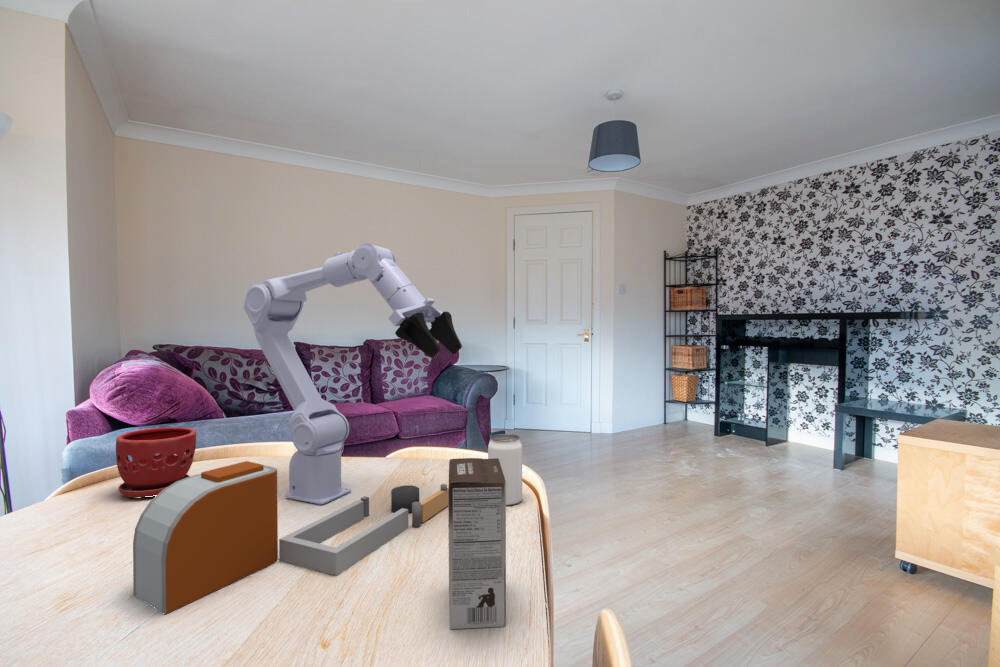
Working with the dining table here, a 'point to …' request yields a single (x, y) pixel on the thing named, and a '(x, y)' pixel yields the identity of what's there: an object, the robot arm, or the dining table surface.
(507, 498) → the can
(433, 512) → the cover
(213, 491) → the grey and orange block
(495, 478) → the coffee box
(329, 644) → the dining table surface
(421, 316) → the robot arm
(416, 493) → the dark grey cylinder
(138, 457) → the plant pot
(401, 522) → the grey frame
